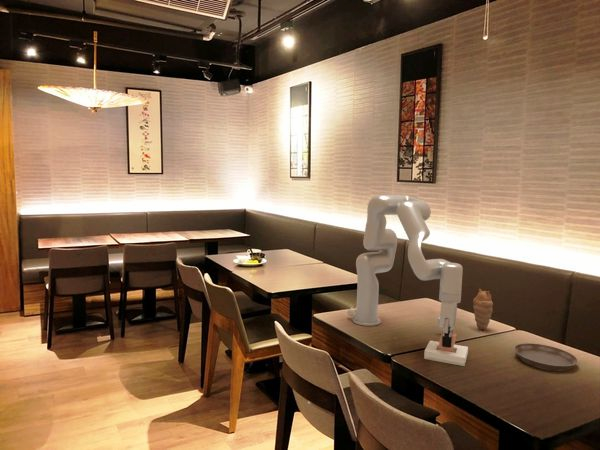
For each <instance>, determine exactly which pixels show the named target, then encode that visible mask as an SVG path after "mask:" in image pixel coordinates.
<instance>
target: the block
mask: <svg viewBox="0 0 600 450" xmlns="http://www.w3.org/2000/svg"><path fill="white" fill-rule="evenodd" d="M442 336H443V331H442V330H441V335H440V338H439V341H438V342H439V347H438V350H442V351H448V352H453V348H454V345H455V343H456V338H457V336H458V335H457V333H455V332H453V333H451V337H452V342H451V348H448V347H443V346H442Z"/></svg>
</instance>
